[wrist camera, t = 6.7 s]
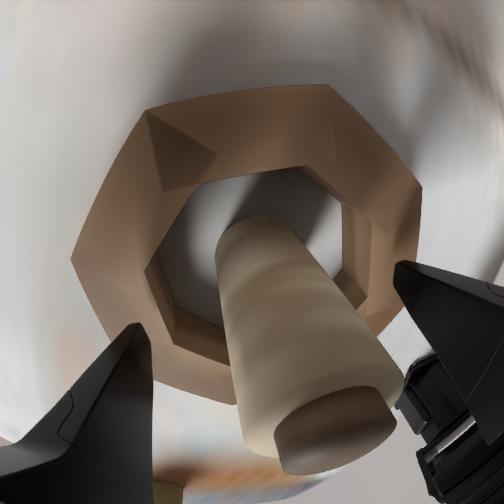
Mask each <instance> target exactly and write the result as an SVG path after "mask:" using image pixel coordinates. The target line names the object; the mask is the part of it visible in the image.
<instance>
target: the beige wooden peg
mask: <svg viewBox="0 0 504 504" xmlns="http://www.w3.org/2000/svg"><path fill="white" fill-rule="evenodd" d="M215 263H216V271H217V279H218V286H219V293H220V301H221V308H222V315H223V321H224V328H225V335H226V341H227V347H228V354H229V360H230V366H231V372H232V378H233V384H234V389H235V395H236V401H237V406H238V412H239V417H240V422H241V428H242V433H243V438H244V442H245V444H246V446H247V447H248V448H249V449H250V450H251V451H253V452H255V453H257V454H259V455H262V456H267V457H274V458H280V462H281V465H282V469H283V471H284V472H285V473H287V474H290V475H311V474H317V473H321V472H325V471H329V470H332V469H335V468H338V467H341V466H343V465H346V464H348V463H350V462H352V461H355V460H357V459H358V458H360V457H362V456H364V455H366V454H367V453H369V452H370V451H372V450H373V449H375V448H376V447H377V446H379V445H380V444H381V443H382V442H384V441H385V440H386V439H387V438H388V437H389V436H390V435H391V434H392V432H393V431H394V430H395V428H396V425H397V421H396V419H395V417H394V415H393V414H392V412H391V410H390V409H391V408H392V407H393V405H394V404H395V403H396V401H397V400H398V398H399V396H400V394H401V392H402V389H403V386H404V376H403V373H402V372H401V370H400V369H399V367H398V366H397V365H396V363H395V362H394V360H393V359H392V358H391V356H390V355H389V354H388V352H387V351H386V349H385V348H384V347H383V345H382V344H381V343H380V341H379V340H378V339H377V337H376V336H375V335H374V333H373V332H372V331H371V329H370V328H369V327H368V325H367V324H366V323H365V321H364V320H363V319H362V317H361V316H360V315H359V314H358V312H357V311H356V310H355V308H354V307H353V306H352V304H351V303H350V302H349V301H348V299H347V298H346V297H345V296H344V294H343V293H342V292H341V290H340V289H339V288H338V287H337V285H336V284H335V283H334V282H333V280H332V279H331V278H330V277H329V275H328V274H327V273H326V272H325V270H324V269H323V268H322V267H321V265H320V264H319V263H318V262H317V261H316V259H315V258H314V257H313V256H312V254H311V253H310V252H309V251H308V250H307V248H306V247H305V246H304V245H303V243H302V242H301V241H300V240H299V239H298V237H297V236H296V235H295V234H294V233H293V232H292V230H291V229H290V228H289V227H288V226H287V225H286V224H285V223H283V222H282V221H280V220H278V219H276V218H273V217H269V216H251V217H247V218H244V219H242V220H239V221H238V222H236V223H234V224H233V225H231V226H230V227H229V228H228V229H227V230H226V231H225V232H224V233H223V235H222V236H221V238H220V239H219V242H218V244H217V247H216V252H215Z"/></svg>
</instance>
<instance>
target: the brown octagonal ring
mask: <svg viewBox="0 0 504 504" xmlns="http://www.w3.org/2000/svg"><path fill="white" fill-rule="evenodd" d="M296 166H297V167H298V168H299V169H301V170H302V171H303V172H304V173H306V174H307V175H308V176H309V177H311V178H312V179H313V180H314V181H316V182H317V183H318V184H319V185H320V186H322V187H323V188H324V189H325V190H326V191H328V192H329V193H330V194H331V195H332V196H333V197H335V198H336V199H337V200H338V201H339V202H340V203H341V207H342V270H341V271H340V273H339V274H338V275H337V276H336V278H335V279H334V280H333V282H334V283H335V284H336V285H337V287H338V288H339V289H340V290H341V292H342V293H343V294H344V296H345V297H346V298H347V299H348V301H349V302H350V303H351V304H352V306H353V307H354V308H355V310H356V311H357V312H358V314H359V315H360V316H361V317H362V319H363V320H364V321H365V323H366V324H367V325H368V327H369V328H370V329H371V331H372V332H373V333H374V335H375V336H376V337H377V336H378V335H379V334H380V333H381V332H382V331H383V330H384V329H385V328H386V327H387V325H388V324H389V323H390V322H391V321H392V320H393V319H394V318H395V316H396V315H397V314H398V313H399V312H400V311H401V310H402V308H403V307H404V306H405V305H404V304H403V302H402V300H401V299H400V297H399V295H398V293H397V292H396V290H395V288H394V286H393V275H394V266H395V263H396V262H398V261H402V260H409V261H413V262H416V257H417V249H418V240H419V231H420V219H421V205H422V186H421V185H420V184H419V182H418V181H417V180H416V178H415V177H414V176H413V174H412V173H411V172H410V171H409V169H408V168H407V167H406V166H405V164H404V163H403V162H402V161H401V159H400V158H399V157H398V156H397V155H396V153H395V152H394V151H393V150H392V149H391V148H390V146H389V145H388V144H387V143H386V142H385V141H384V140H383V138H382V137H381V136H380V135H379V134H378V133H377V132H376V131H375V130H374V129H373V128H372V126H371V125H370V124H369V123H368V122H367V121H366V120H365V119H364V118H363V117H362V116H361V115H360V114H359V113H358V112H357V111H356V110H355V109H354V108H353V107H352V106H351V105H350V104H349V103H348V102H347V101H346V100H345V99H344V98H343V97H341V96H340V95H339V94H338V93H337V92H336V91H335V90H334V89H333V88H332V87H330V86H329V85H328V84H312V85H291V86H277V87H266V88H256V89H248V90H240V91H233V92H227V93H220V94H214V95H209V96H203V97H198V98H193V99H188V100H184V101H179V102H175V103H171V104H167V105H163V106H159V107H155V108H151V109H148V110H145V111H144V113H143V114H142V116H141V118H140V119H139V121H138V122H137V124H136V125H135V127H134V129H133V130H132V132H131V133H130V135H129V137H128V138H127V140H126V142H125V143H124V145H123V147H122V149H121V150H120V152H119V154H118V156H117V158H116V159H115V161H114V163H113V165H112V167H111V169H110V170H109V172H108V174H107V176H106V178H105V180H104V182H103V184H102V186H101V188H100V190H99V192H98V194H97V196H96V199H95V201H94V203H93V205H92V207H91V209H90V212H89V214H88V216H87V218H86V221H85V223H84V226H83V228H82V230H81V233H80V235H79V238H78V240H77V243H76V245H75V248H74V251H73V253H72V256H71V262H72V264H73V266H74V269H75V271H76V273H77V276H78V278H79V280H80V282H81V285H82V287H83V289H84V291H85V293H86V295H87V297H88V299H89V301H90V303H91V306H92V308H93V309H94V311H95V313H96V315H97V317H98V319H99V321H100V323H101V325H102V327H103V328H104V330H105V332H106V334H107V336H108V337H109V339H110V341H111V343H112V341H113V340H114V339H115V338H116V337H117V336H118V335H119V334H120V333H121V332H122V331H123V330H124V329H125V328H126V326H127V325H128V324H131V323H137V322H140V323H141V324H142V325H143V327H144V329H145V331H146V333H147V335H148V337H149V339H150V342H151V347H152V369H153V380H155V381H158V382H160V383H163V384H166V385H169V386H171V387H174V388H177V389H180V390H183V391H186V392H189V393H192V394H195V395H198V396H201V397H205V398H208V399H211V400H215V401H218V402H222V403H226V404H229V405H235V404H237V401H236V395H235V389H234V384H233V378H232V372H231V366H230V360H229V354H228V347H227V341H226V335H225V329H222V328H220V327H218V326H215V325H213V324H211V323H209V322H207V321H204V320H202V319H200V318H198V317H196V316H194V315H192V314H189V313H187V312H185V311H183V310H181V309H179V308H177V307H176V305H175V302H174V300H173V297H172V294H171V291H170V288H169V285H168V283H167V280H166V277H165V274H164V271H163V268H162V265H161V262H160V259H159V255H158V252H157V248H158V246H159V245H160V243H161V241H162V239H163V238H164V236H165V234H166V233H167V231H168V230H169V228H170V226H171V225H172V223H173V221H174V220H175V218H176V217H177V215H178V213H179V212H180V210H181V209H182V207H183V206H184V204H185V202H186V201H187V199H188V198H189V196H190V195H191V193H192V192H193V190H194V189H195V187H196V186H197V185H198V184H202V183H207V182H212V181H216V180H221V179H226V178H231V177H237V176H242V175H247V174H253V173H259V172H264V171H270V170H277V169H283V168H289V167H296Z"/></svg>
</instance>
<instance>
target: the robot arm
mask: <svg viewBox="0 0 504 504" xmlns="http://www.w3.org/2000/svg"><path fill="white" fill-rule="evenodd" d="M393 286H394V288H395V290H396V292H397V293H398V295H399V297H400V299H401V300H402V302H403V304H404V305H405V307H406V309H407V311H408V312H409V314H410V316H411V318H412V319H413V321H414V322H415V323H416V325H417V326H418V328H419V329H420V331H421V332H422V334H423V335H424V337H425V338H426V339H427V341H428V342H429V344H430V345H431V347H432V348H433V350H434V352H435V353H436V355H434V356H432V357H431V358H429V359H427V360H425V361H423V362H421V363H419V364H417V365H415V366H413V367H412V368H411V369H410V370H409V371H408V374H407V376H406V379H405V382H404V386H403V389H402V392H401V394H400V396H399V398H398V400H397V401H396V403H395V405H394V407H395V409H396V410H398V409H400V410H401V412H402V414H403V415H404V416H405V418H406V420H407V422H408V423H409V425H410V427H411V428H412V430H413V432H414V433H415V434H416V435H419V434H421V435H422V437H423V439H424V440H425V442H426V444H427V445H426V446H425V447H424V448H421V449H420V450H418V451H417V452H416V457H417V459H418V463H419V466H420V468H421V471H422V473H423V476H424V479H425V481H426V485H427V490H428V494H429V495H430V496H433V497H435V499H436V500H437V501H438V502H439V503H441V504H445V503H446V504H504V287H502V286H498V285H495V284H491V283H488V282H484V281H481V280H478V279H474V278H471V277H467V276H464V275H460V274H457V273H453V272H450V271H446V270H442V269H439V268H435V267H431V266H428V265H424V264H420V263H417V262H413V261H409V260H402V261H398V262H396V263H395V266H394V275H393ZM152 410H153V369H152V347H151V342H150V339H149V337H148V335H147V333H146V331H145V329H144V327H143V325H142V324H141V323H140V322H137V323H131V324H128V325H127V326H126V328H125V329H124V330H123V331H122V332H121V333H120V334H119V335H118V336H117V337H116V338H115V339H114V340H113V341H112V343H111V344H110V345H109V346H108V347H107V348H106V349H105V350H104V351H103V352H102V353H101V354H100V356H99V357H98V358H97V359H96V360H95V361H94V362H93V363H92V364H91V365H90V367H89V368H88V369H87V370H86V371H85V372H84V373H83V374H82V375H81V377H80V378H79V379H78V380H77V381H76V382H75V383H74V384H73V386H72V387H71V388H70V390H68V391H67V392H66V394H65V395H64V396H63V397H62V398H61V399H60V400H59V401H58V403H57V404H56V405H55V406H54V407H53V408H52V409H51V410H50V411H49V412H48V413H47V414H46V415H45V416H44V417H43V418H42V419H41V420H40V421H39V422H38V423H37V424H36V425H35V426H34V427H33V428H32V429H31V430H30V431H29V432H28V433H27V434H26V435H25V436H24V437H23V438H22V439H21V440H19V441H18V442H16V443H14V444H12V445H8V446H2V447H0V504H154V499H153V498H154V495H153V473H152ZM474 420H475V421H476V423H474V424H473V425H472V426H471V427H470V428H469V429H468V430H467V431H466V432H464V433H463V434H462V435H461V436H460V437H459V438H457V439H456V440H455V441H454V442H453V443H451V444H450V445H449V446H448V447H446V448H445V449H444V450H443V451H441V452H440V453H438V451H439V450H440V449H441V448H443V447H444V446H445V445H447V444H448V443H449V442H450V441H452V440H453V439H454V438H455V437H456V436H457V435H459V434H460V433H461V432H462V431H463V430H464V429H466V428H467V427H468V426H469V425H470V424H471V423H472V422H473V421H474Z"/></svg>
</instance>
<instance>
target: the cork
mask: <svg viewBox="0 0 504 504" xmlns="http://www.w3.org/2000/svg"><path fill="white" fill-rule="evenodd" d="M153 495H154V498H153V499H154V504H182V500H183V488H182V487H180V486H178V485H175V484H171V483H167V482H160V481H153Z"/></svg>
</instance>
